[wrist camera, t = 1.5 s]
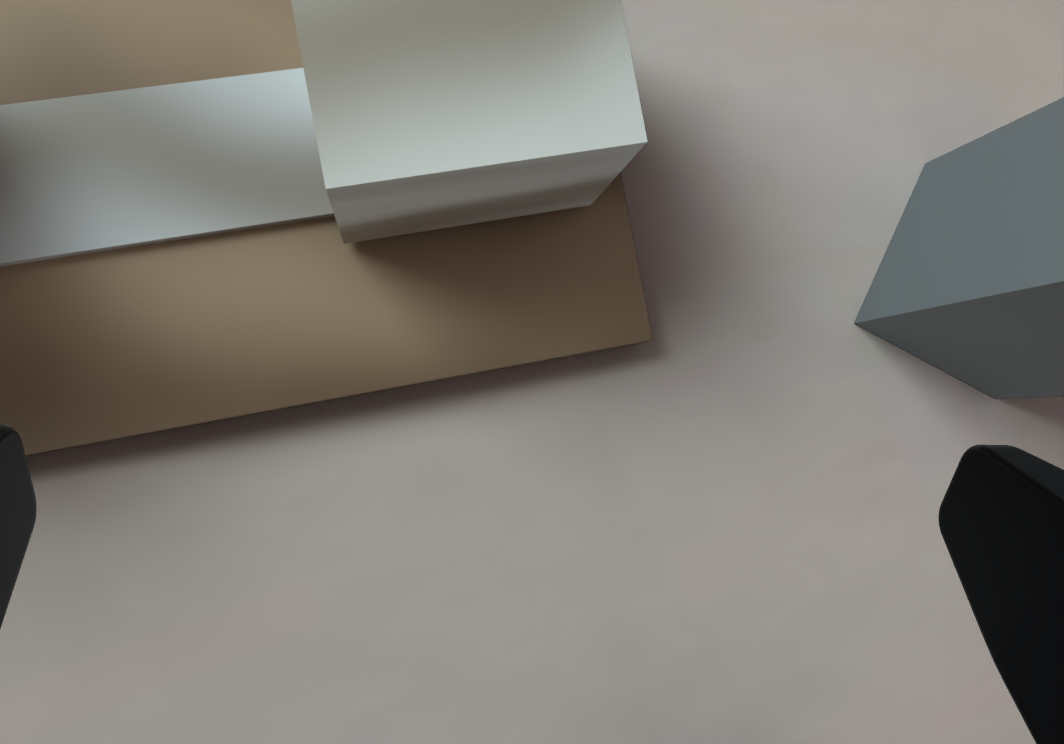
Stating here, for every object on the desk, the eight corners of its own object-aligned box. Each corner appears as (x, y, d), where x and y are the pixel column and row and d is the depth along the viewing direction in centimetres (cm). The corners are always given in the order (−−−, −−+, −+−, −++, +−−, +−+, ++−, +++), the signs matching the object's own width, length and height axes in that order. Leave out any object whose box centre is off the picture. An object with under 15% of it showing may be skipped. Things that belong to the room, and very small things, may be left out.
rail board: (641, 343, 23) (732, 315, 16) (-306, 516, 19) (-645, 566, 13) (555, -105, 23) (613, -299, 17) (-395, -12, 19) (-769, -212, 13)
